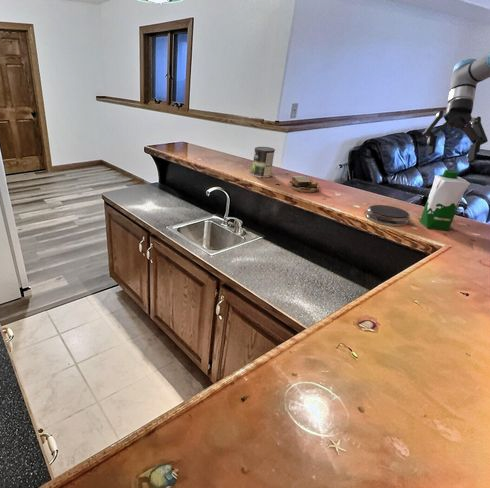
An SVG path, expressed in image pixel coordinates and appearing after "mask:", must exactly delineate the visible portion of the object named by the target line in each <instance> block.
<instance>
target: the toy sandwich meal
mask: <svg viewBox="0 0 490 488" xmlns="http://www.w3.org/2000/svg"><path fill="white" fill-rule="evenodd" d="M289 183H290V187H291V189H292V190H293V191H296V192H301V193H315V192H316V191H319V187H318V186H319V182H316V183H315V182H314V181H313V180H312V179H311V178H308V177H307V176H305V175H293V176H292V177H291V180H290V181H289Z"/></svg>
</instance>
